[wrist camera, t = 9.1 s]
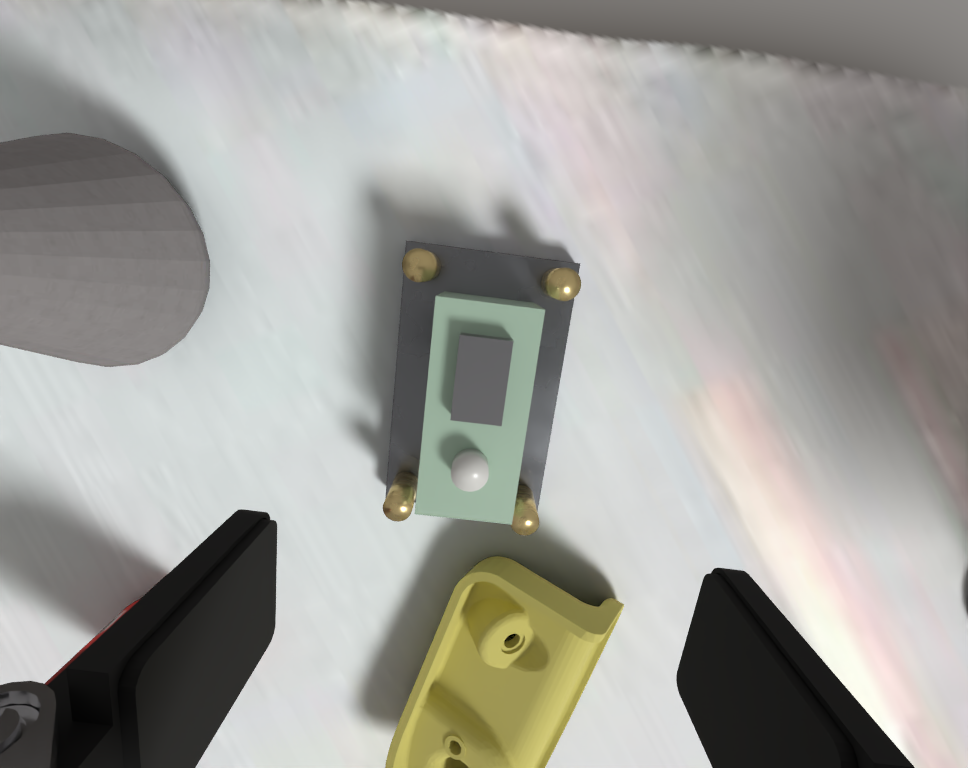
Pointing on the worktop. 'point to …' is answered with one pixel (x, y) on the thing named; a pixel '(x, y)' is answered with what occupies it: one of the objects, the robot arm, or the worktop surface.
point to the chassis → (422, 282)
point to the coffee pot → (95, 253)
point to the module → (477, 406)
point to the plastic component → (501, 672)
